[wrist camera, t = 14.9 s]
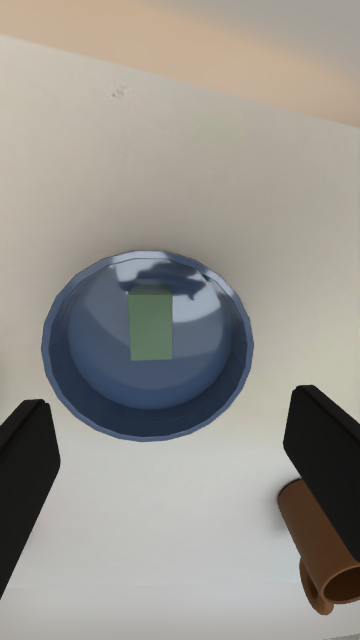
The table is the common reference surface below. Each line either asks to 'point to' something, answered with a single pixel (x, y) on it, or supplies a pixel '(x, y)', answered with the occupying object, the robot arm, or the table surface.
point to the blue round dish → (147, 375)
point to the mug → (319, 551)
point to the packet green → (150, 322)
